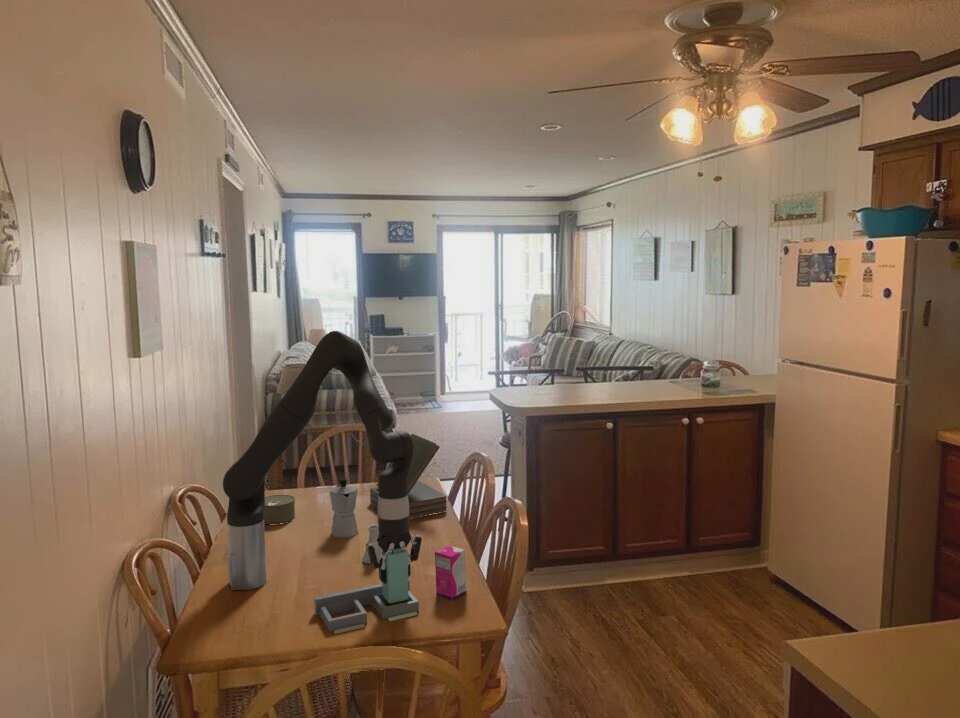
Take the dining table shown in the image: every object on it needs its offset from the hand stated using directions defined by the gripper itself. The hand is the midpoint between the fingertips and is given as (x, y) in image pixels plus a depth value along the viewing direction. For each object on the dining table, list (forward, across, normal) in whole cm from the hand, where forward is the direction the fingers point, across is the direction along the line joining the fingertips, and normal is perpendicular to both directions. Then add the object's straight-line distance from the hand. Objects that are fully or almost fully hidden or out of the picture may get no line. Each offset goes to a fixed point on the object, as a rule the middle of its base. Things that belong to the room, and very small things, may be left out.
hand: (395, 579), depth 168 cm
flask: (+7, +4, +31) cm, 32 cm away
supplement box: (+7, +15, +1) cm, 17 cm away
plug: (+4, 0, 0) cm, 4 cm away
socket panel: (+7, -7, 0) cm, 10 cm away
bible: (+8, +30, +70) cm, 77 cm away
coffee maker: (+7, +2, +57) cm, 57 cm away
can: (+7, -14, +80) cm, 82 cm away
